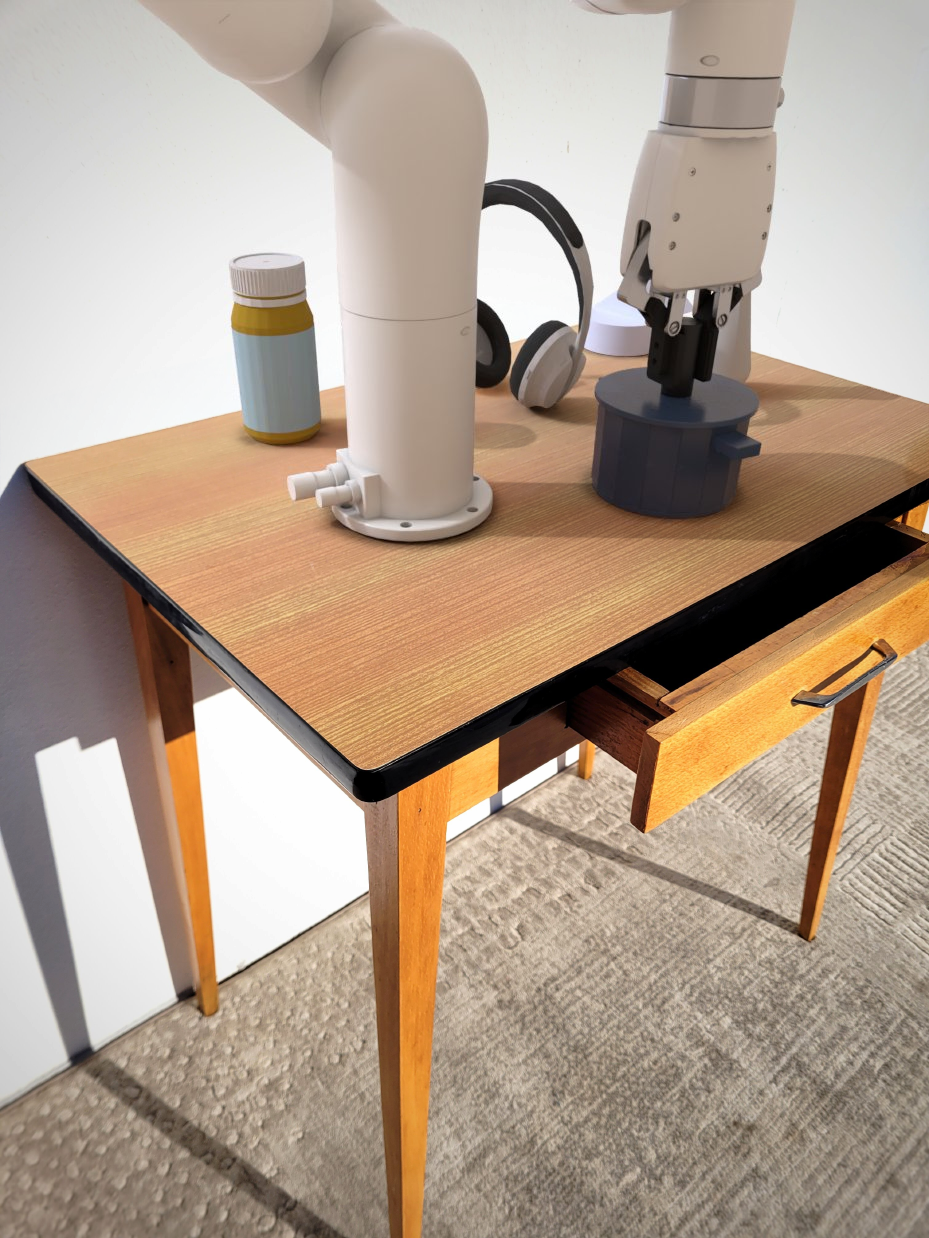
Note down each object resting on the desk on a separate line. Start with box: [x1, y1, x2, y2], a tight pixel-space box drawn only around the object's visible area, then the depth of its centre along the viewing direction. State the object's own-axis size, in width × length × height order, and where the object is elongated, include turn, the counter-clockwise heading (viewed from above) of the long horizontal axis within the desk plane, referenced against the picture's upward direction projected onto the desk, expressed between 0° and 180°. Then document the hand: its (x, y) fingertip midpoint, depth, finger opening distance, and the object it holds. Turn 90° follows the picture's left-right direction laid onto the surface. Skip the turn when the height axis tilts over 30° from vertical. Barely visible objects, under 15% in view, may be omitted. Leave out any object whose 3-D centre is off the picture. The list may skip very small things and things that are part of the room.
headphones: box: [475, 178, 595, 409], centre depth 88 cm, size 19×8×20 cm, turn 45°
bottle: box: [228, 251, 322, 445], centre depth 80 cm, size 7×7×15 cm
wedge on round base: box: [584, 280, 693, 357], centre depth 108 cm, size 9×7×13 cm
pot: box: [590, 376, 762, 519], centre depth 74 cm, size 12×17×8 cm
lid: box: [593, 316, 760, 429], centre depth 70 cm, size 13×13×7 cm
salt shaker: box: [712, 291, 752, 384], centre depth 92 cm, size 6×6×13 cm
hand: (678, 377), depth 71 cm, fingers closed on lid, 2 cm apart
